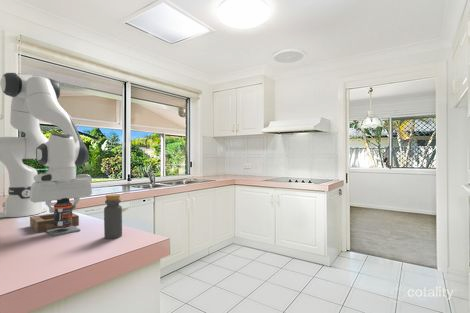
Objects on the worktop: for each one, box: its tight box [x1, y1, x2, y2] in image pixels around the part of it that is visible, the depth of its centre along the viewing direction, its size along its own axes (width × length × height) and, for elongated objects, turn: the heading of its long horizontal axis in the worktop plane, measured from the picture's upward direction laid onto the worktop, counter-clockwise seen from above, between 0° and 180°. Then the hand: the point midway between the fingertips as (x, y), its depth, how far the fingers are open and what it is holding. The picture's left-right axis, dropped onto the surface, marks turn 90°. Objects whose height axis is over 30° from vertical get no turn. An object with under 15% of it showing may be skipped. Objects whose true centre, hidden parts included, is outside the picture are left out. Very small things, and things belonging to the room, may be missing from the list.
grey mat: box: [46, 226, 81, 237], centre depth 102 cm, size 9×9×1 cm
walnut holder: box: [29, 212, 80, 234], centre depth 110 cm, size 14×14×4 cm
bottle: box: [103, 193, 123, 240], centre depth 95 cm, size 6×6×15 cm
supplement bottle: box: [53, 198, 73, 228], centre depth 102 cm, size 6×6×11 cm
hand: (63, 210), depth 102 cm, fingers closed on supplement bottle, 6 cm apart
